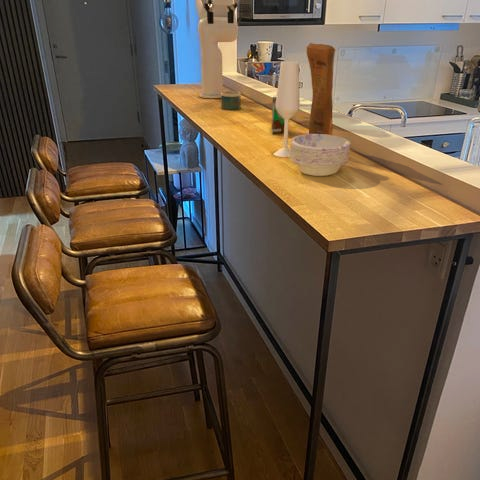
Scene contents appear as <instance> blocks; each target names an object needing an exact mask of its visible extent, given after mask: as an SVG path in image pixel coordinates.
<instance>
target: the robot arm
mask: <svg viewBox="0 0 480 480" xmlns="http://www.w3.org/2000/svg"><path fill="white" fill-rule="evenodd" d="M194 1H195V7H196V10H197V11H196V12H197V16H198V18H199V21H198V23H197V34H198V40H199V47H200V68H201V71H200V72H201V92H200V93H198V97H199V98H202V99H221V92H223V90H224V88H223V52H222V50H221V48H220V47H219V46H218V44H217V43H232V42H235V41H236V40H237V39H238V36H239V24H238V21H237V16H236V9H237V7H238V4H239V2H240V0H194Z"/></svg>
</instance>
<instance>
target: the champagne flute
mask: <svg viewBox="0 0 480 480" xmlns="http://www.w3.org/2000/svg"><path fill="white" fill-rule="evenodd" d="M275 97H276V105H275V107H276V110H277V111H278V113H279V114H280V115H281V116H282V117H283V118H284V119H285V124H284V133H283V147H282V148H280V149H278V150H276V151H275V152H273V155H274V156H275V157H280V158H290V147H288V143H289V141H288V140H289V124H290V119H292V118H293V117H294V116H295V115H296V114H297V113H298V111H299V109H300V106H301V105H300V62H299V61H293V60H292V61H291V60H284V61H281V62H280V67H279V75H278V83H277V90H276V96H275Z"/></svg>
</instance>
